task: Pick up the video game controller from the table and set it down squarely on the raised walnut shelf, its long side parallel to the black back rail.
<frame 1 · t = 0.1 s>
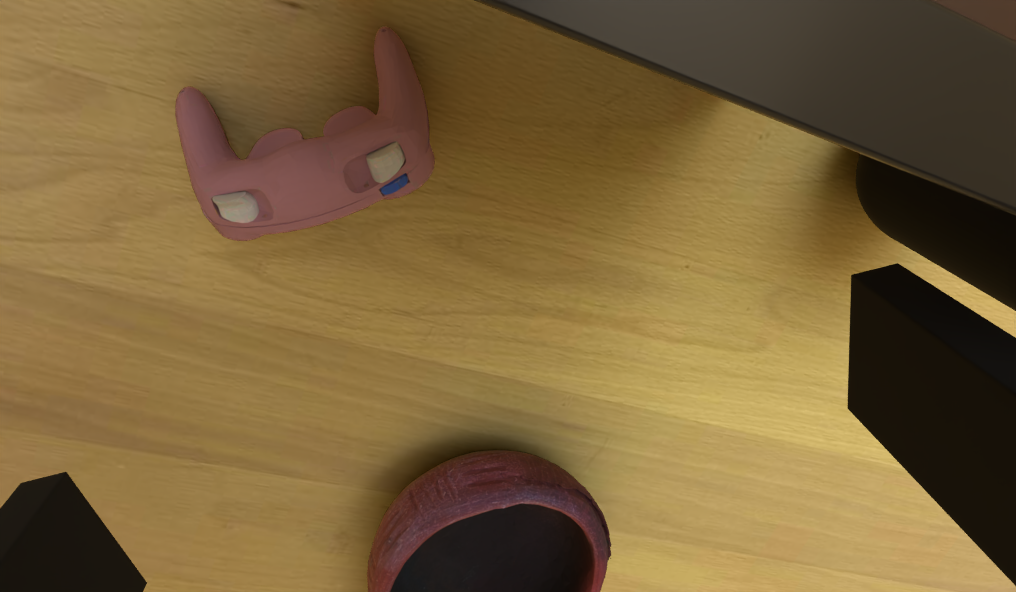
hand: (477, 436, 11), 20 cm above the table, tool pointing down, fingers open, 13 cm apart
decorative object: (888, 152, 32), on the table
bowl: (477, 518, 40), on the table
video game controller: (317, 122, 28), on the table
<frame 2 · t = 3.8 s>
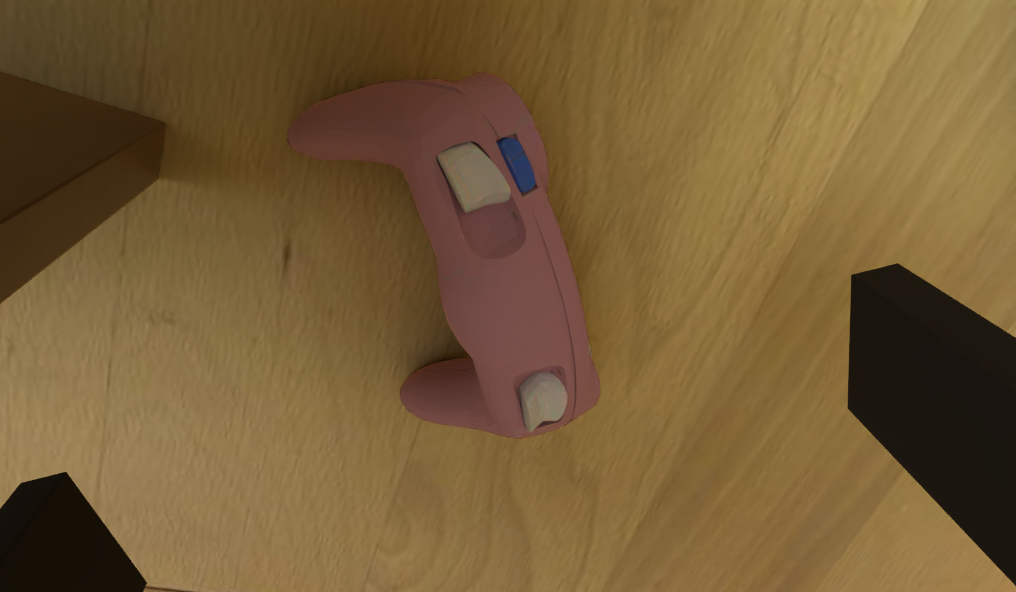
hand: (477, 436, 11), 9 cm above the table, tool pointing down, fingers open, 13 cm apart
video game controller: (449, 235, 19), on the table
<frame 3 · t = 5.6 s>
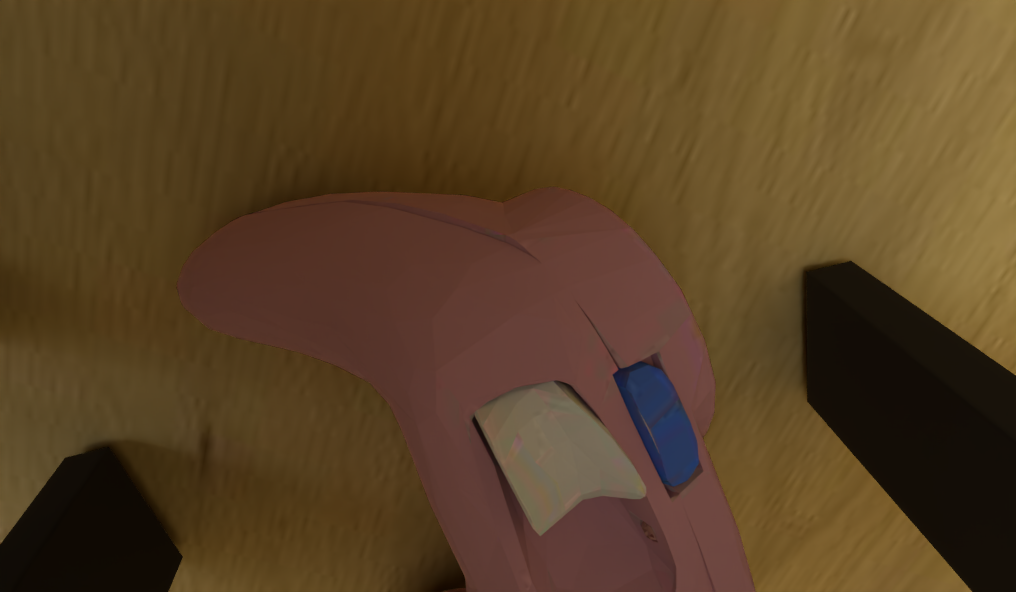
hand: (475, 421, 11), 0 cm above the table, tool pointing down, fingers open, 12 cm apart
video game controller: (475, 406, 12), on the table
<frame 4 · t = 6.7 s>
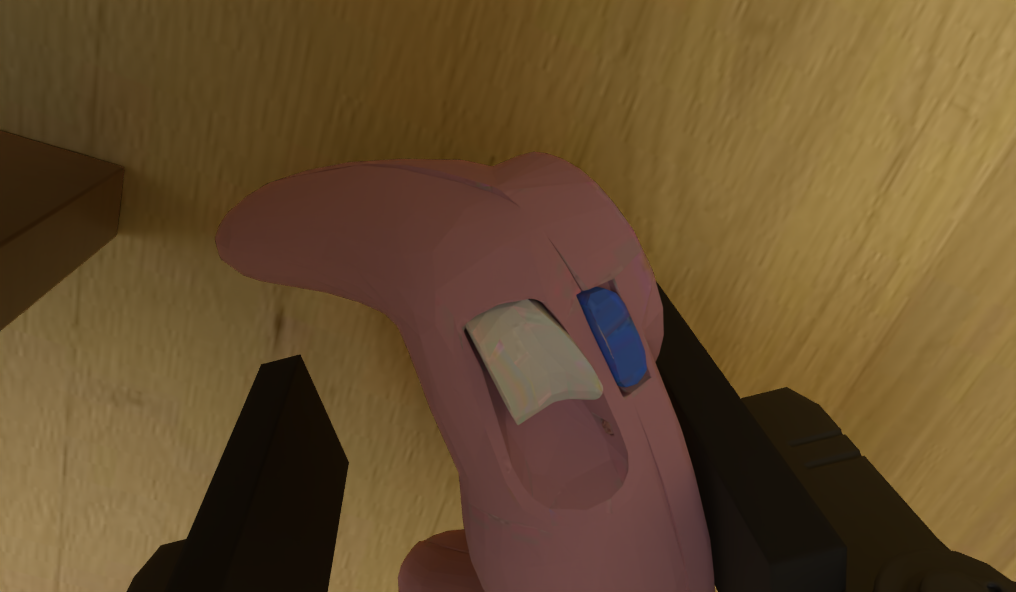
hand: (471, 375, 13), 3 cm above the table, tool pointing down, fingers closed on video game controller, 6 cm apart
video game controller: (472, 361, 13), point 3 cm above the table, touching gripper
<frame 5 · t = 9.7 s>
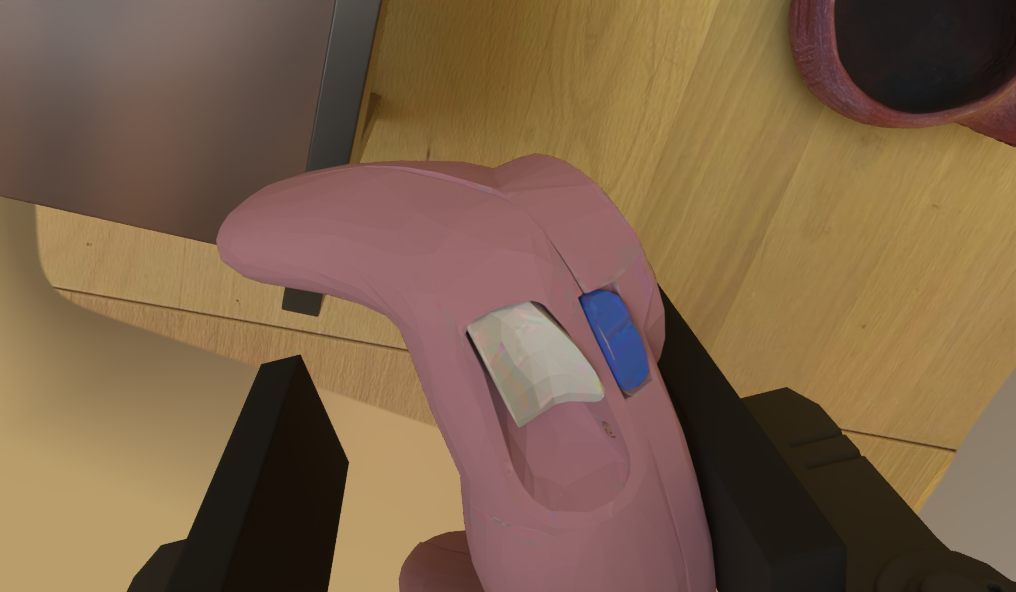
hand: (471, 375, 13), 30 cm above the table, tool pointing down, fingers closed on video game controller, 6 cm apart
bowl: (883, 7, 40), on the table
video game controller: (473, 362, 13), point 30 cm above the table, touching gripper
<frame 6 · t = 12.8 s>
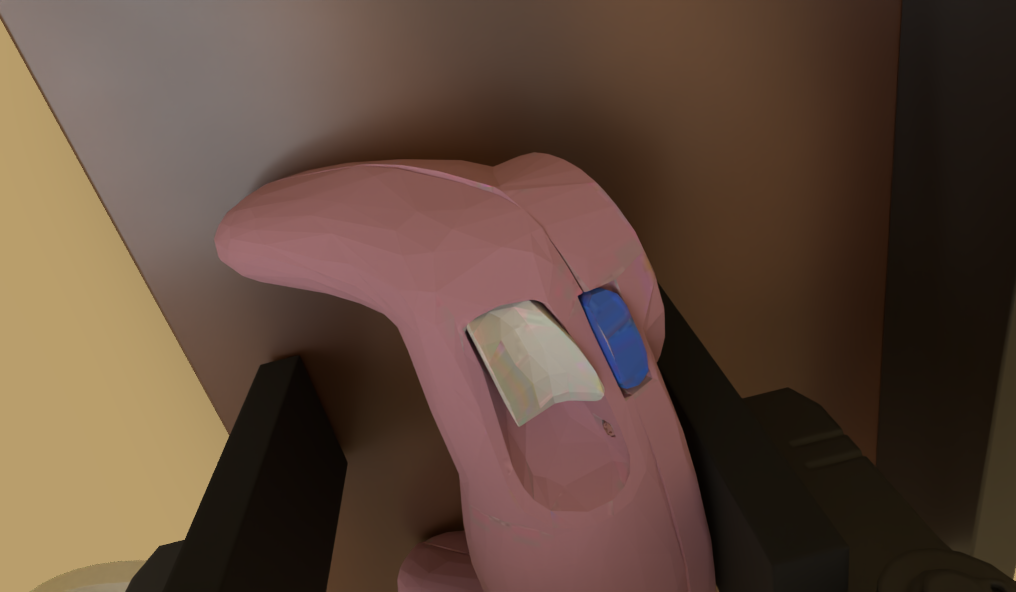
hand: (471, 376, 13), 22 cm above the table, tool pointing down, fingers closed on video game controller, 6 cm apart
shelf: (587, 362, 12), on the shelf stand, point 23 cm above the table
video game controller: (471, 362, 13), point 22 cm above the table, touching gripper
when the fingers open (22 cm above the table, at t = 13.2 s): video game controller stays where it is, resting on shelf.
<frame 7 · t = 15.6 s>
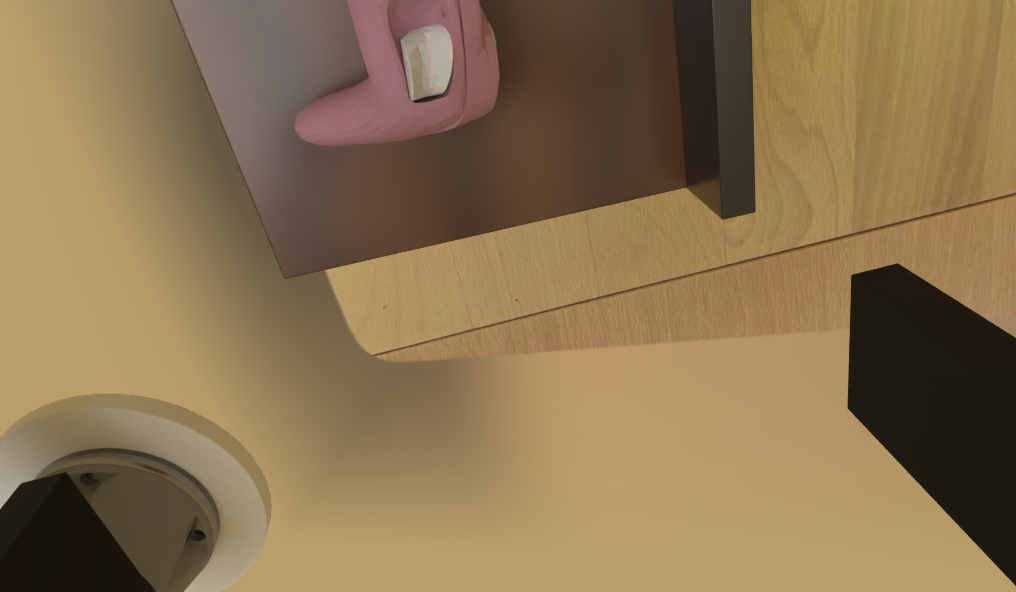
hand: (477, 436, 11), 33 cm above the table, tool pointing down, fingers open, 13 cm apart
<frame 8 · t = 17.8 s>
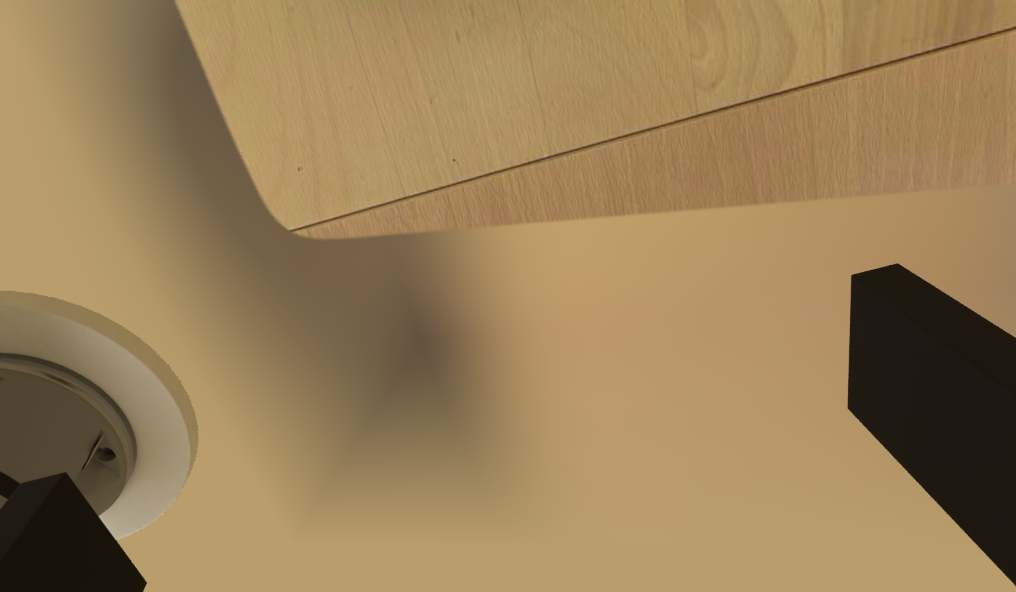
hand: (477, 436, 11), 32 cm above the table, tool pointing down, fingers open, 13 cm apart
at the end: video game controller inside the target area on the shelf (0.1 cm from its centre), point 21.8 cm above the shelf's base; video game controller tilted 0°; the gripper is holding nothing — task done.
